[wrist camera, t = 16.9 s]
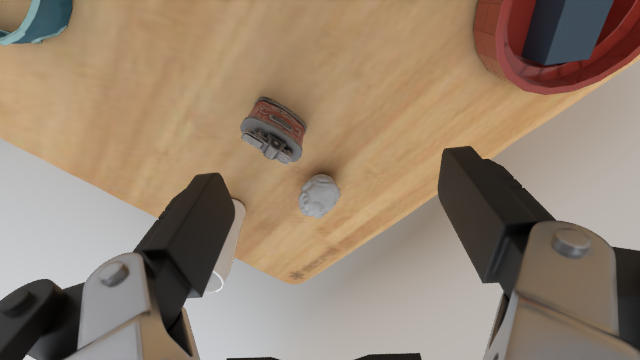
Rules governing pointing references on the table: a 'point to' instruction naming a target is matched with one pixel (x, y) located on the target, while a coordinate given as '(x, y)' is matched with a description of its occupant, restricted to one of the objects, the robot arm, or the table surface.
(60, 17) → the sunglasses
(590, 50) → the blue rectangular block
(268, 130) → the lighter
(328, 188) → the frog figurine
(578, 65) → the bowl
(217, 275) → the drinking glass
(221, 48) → the table surface
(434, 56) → the table surface
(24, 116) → the table surface
